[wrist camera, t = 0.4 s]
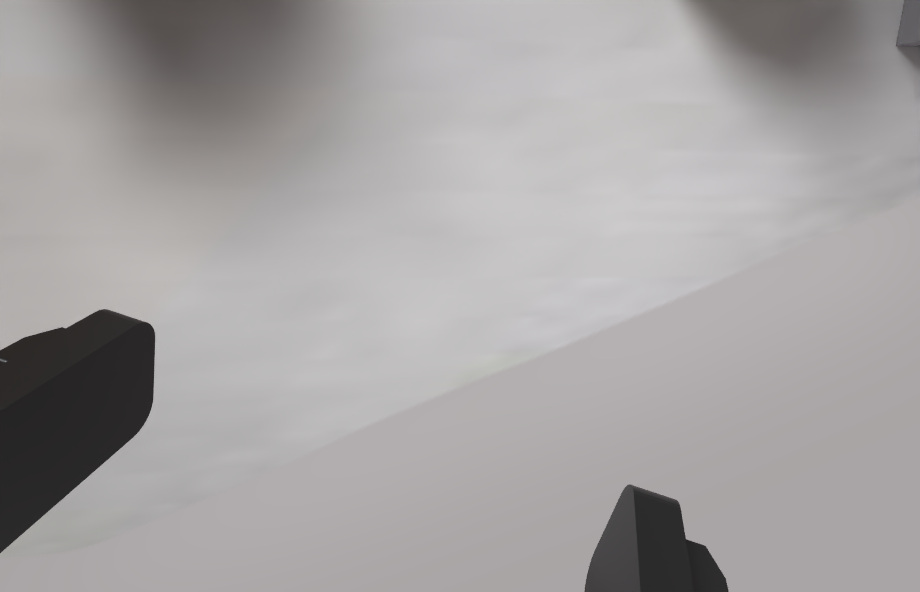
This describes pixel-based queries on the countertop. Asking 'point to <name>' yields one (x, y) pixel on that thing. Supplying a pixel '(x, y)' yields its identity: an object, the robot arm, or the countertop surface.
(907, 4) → the button housing
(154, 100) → the countertop surface
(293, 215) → the countertop surface
